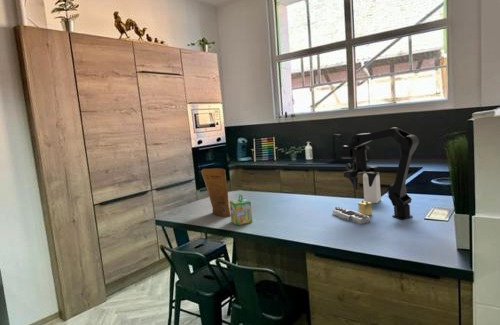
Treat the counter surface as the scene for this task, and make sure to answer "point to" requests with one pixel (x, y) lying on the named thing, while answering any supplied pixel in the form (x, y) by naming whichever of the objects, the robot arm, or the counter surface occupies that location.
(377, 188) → the milk carton
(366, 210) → the studded golden block
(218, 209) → the pancake mix bag
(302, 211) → the counter surface
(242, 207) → the chalk box
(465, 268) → the counter surface
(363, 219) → the chrome-studded grey beam
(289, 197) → the counter surface
